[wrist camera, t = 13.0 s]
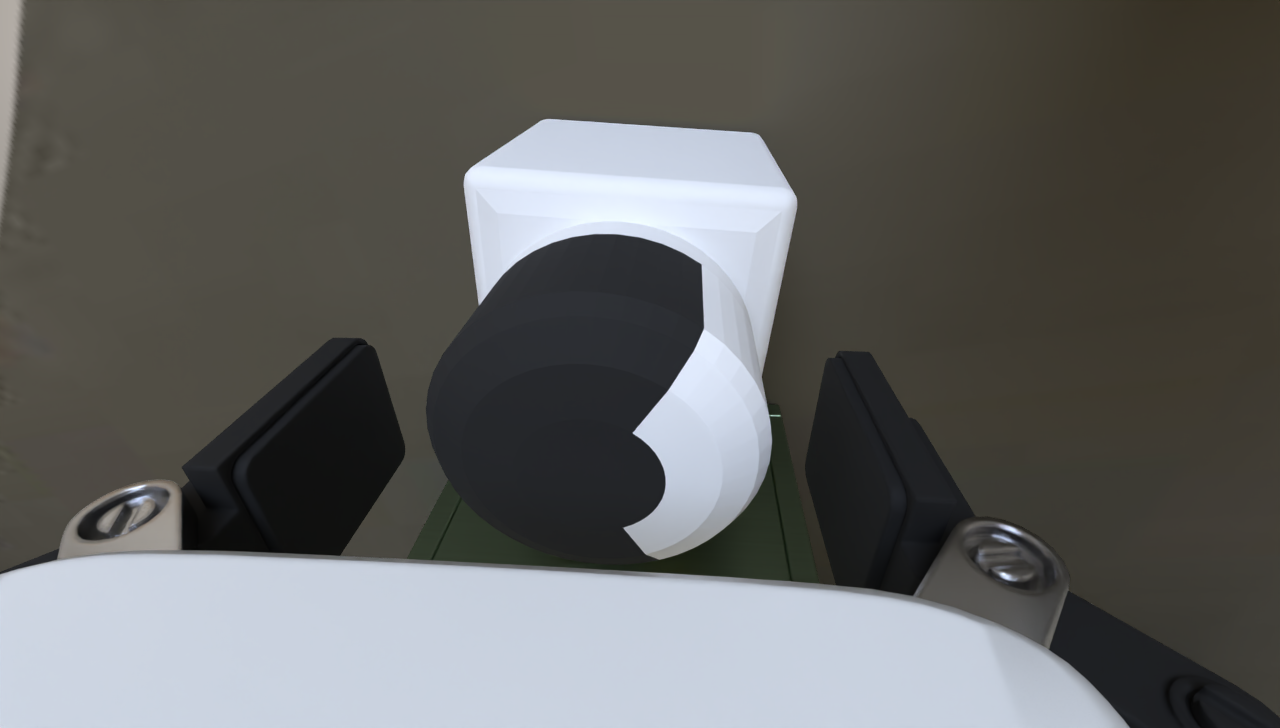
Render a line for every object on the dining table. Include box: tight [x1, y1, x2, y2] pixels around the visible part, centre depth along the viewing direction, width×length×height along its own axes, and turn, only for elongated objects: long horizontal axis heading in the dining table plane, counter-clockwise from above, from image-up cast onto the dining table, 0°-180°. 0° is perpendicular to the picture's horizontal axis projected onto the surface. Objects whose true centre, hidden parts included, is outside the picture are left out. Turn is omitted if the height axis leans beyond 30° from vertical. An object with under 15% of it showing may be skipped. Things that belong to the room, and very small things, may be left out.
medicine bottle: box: [426, 119, 797, 565], centre depth 14 cm, size 7×7×12 cm
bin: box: [407, 404, 820, 584], centre depth 22 cm, size 16×12×12 cm
